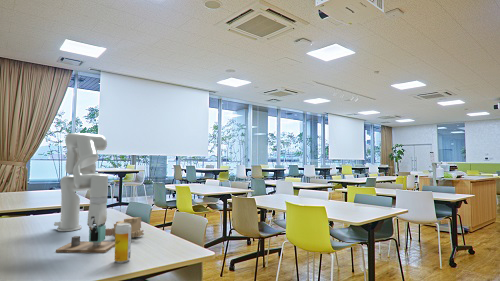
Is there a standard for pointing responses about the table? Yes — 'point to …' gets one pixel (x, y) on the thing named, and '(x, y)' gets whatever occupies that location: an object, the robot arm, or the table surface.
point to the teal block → (99, 233)
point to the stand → (85, 246)
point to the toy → (135, 227)
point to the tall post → (96, 243)
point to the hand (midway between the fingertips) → (97, 239)
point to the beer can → (122, 242)
